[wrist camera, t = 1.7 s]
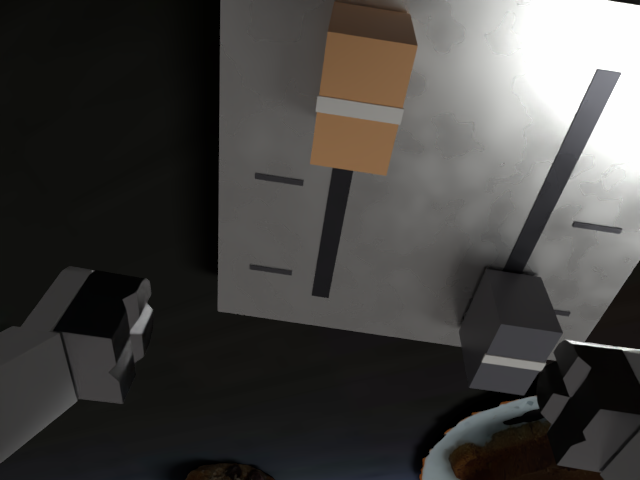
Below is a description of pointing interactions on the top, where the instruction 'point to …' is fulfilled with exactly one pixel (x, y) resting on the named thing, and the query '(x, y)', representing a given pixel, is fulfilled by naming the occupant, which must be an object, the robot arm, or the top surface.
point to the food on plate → (499, 449)
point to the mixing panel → (433, 167)
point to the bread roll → (227, 472)
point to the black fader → (508, 332)
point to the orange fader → (362, 87)
